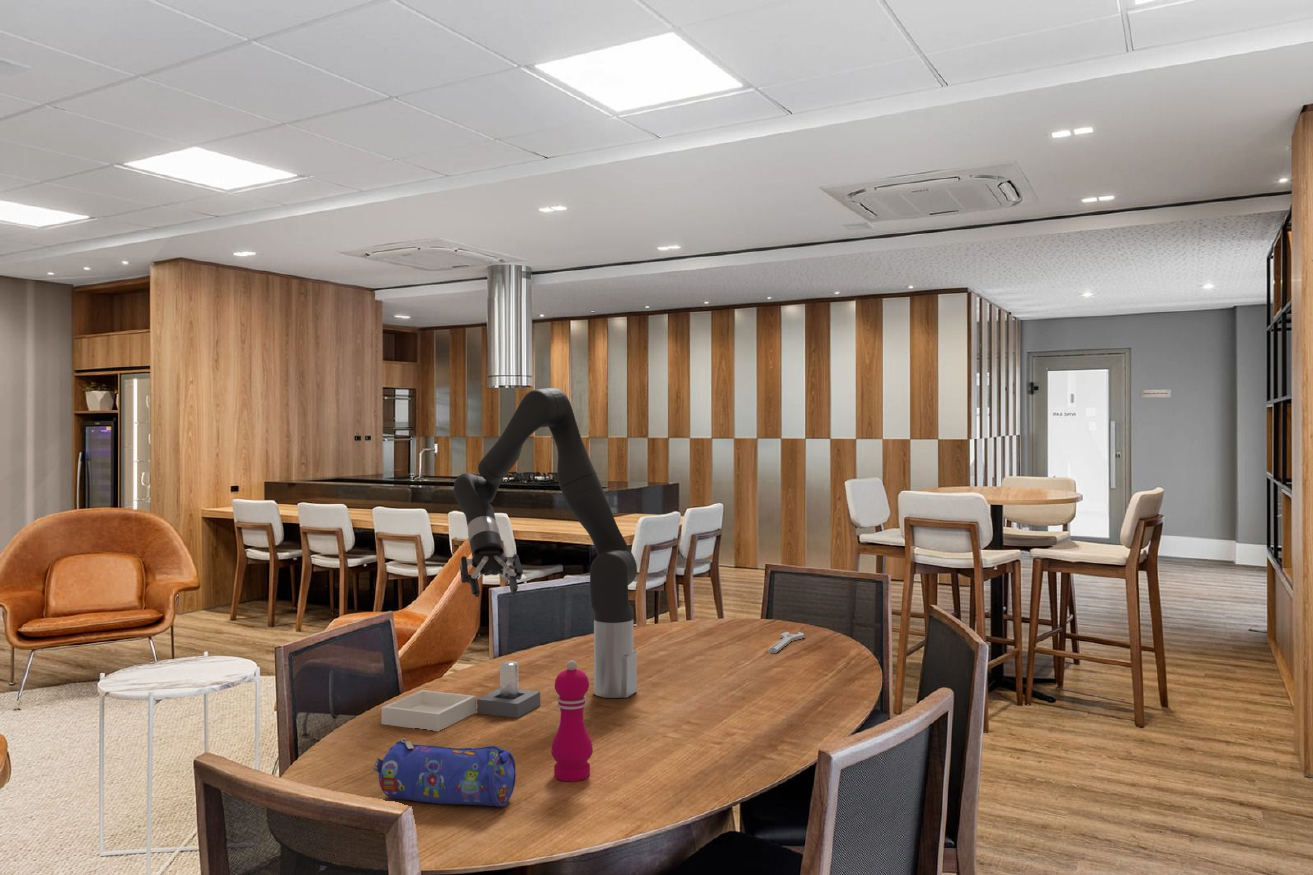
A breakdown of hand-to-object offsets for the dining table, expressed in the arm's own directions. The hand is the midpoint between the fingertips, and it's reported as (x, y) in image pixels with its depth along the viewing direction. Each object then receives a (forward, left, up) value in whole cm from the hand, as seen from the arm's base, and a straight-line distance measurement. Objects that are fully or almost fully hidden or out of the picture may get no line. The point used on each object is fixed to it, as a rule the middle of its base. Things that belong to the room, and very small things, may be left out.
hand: (496, 593), depth 206 cm
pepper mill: (-39, +39, -24) cm, 60 cm away
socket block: (-8, +8, -24) cm, 26 cm away
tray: (+4, +20, -24) cm, 31 cm away
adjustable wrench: (-50, -76, -24) cm, 94 cm away
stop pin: (-8, +8, -24) cm, 26 cm away
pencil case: (-24, +56, -24) cm, 65 cm away
